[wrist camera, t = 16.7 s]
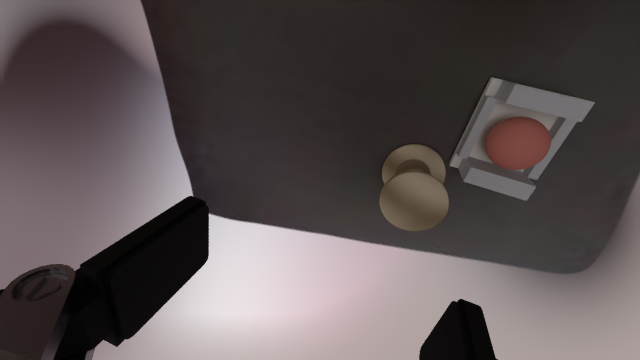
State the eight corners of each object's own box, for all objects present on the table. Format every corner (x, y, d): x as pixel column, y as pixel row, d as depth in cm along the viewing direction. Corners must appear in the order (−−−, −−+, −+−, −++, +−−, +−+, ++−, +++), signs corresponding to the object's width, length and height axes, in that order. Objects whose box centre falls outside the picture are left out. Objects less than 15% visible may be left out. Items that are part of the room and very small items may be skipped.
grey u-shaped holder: (490, 77, 29) (504, 81, 25) (576, 97, 28) (607, 105, 23) (448, 162, 34) (454, 178, 30) (520, 184, 33) (536, 204, 28)
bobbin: (393, 136, 35) (388, 159, 27) (455, 154, 33) (468, 183, 26) (375, 187, 39) (366, 220, 31) (430, 206, 37) (435, 244, 30)
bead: (495, 105, 29) (510, 116, 25) (549, 120, 28) (576, 133, 24) (471, 151, 32) (481, 168, 27) (520, 165, 31) (539, 185, 26)
